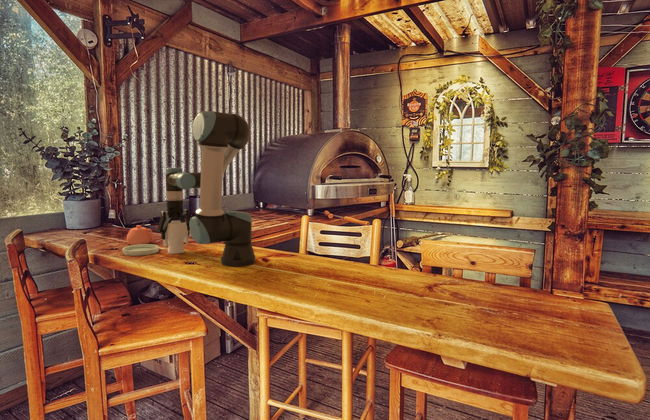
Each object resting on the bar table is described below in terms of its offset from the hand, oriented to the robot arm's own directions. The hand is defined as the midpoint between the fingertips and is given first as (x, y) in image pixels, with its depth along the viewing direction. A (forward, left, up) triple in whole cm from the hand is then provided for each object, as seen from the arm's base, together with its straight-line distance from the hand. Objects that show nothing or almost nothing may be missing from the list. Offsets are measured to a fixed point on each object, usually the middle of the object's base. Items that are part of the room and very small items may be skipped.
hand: (176, 244), depth 193 cm
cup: (0, 0, -4) cm, 4 cm away
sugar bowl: (+30, +2, -4) cm, 30 cm away
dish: (+13, +11, -4) cm, 17 cm away
